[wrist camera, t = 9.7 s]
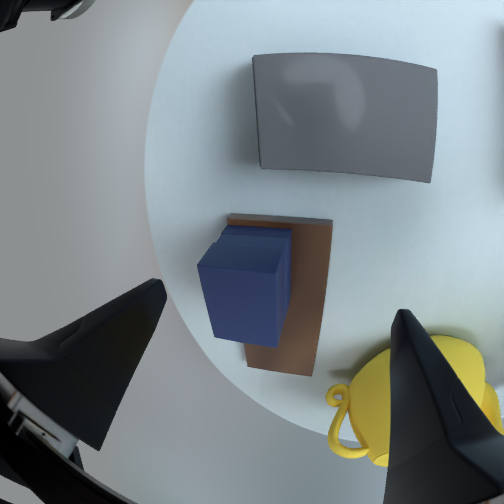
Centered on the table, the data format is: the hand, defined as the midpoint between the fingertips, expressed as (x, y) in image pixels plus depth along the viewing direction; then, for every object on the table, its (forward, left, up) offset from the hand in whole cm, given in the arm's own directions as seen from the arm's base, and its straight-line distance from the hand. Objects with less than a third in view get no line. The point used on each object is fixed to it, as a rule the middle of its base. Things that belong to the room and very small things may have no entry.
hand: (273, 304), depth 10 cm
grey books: (+3, +6, -12) cm, 13 cm away
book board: (-2, -12, -12) cm, 17 cm away
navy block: (-3, -6, -8) cm, 11 cm away
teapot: (+17, -21, -12) cm, 29 cm away
